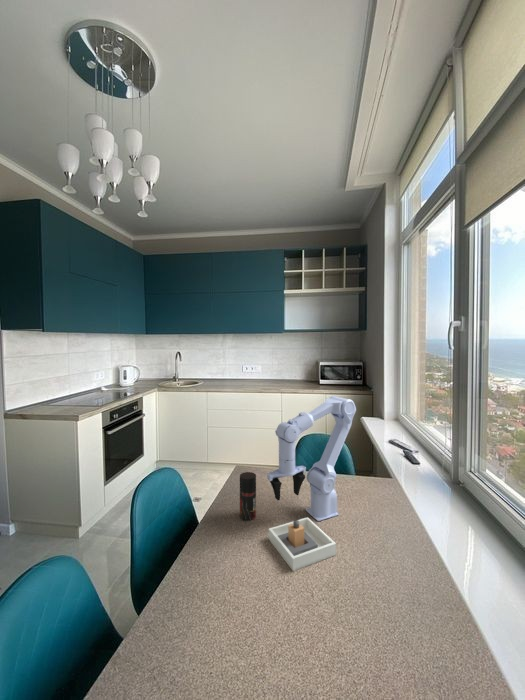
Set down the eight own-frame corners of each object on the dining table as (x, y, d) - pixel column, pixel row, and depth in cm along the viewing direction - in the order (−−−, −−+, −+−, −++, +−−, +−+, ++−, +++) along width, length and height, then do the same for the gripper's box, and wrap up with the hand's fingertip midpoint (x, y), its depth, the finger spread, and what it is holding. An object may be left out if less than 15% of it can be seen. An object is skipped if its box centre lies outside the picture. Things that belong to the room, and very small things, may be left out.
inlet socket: (301, 534, 99) (301, 528, 98) (317, 551, 90) (317, 544, 90) (277, 542, 95) (277, 535, 95) (292, 560, 87) (292, 553, 86)
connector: (297, 540, 95) (297, 517, 95) (304, 547, 92) (304, 523, 92) (288, 544, 94) (288, 520, 93) (295, 551, 90) (295, 526, 90)
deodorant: (253, 521, 106) (253, 479, 106) (237, 519, 108) (237, 478, 107) (257, 512, 112) (257, 472, 112) (242, 510, 113) (242, 471, 113)
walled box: (307, 527, 103) (307, 517, 103) (336, 554, 90) (336, 543, 90) (268, 539, 97) (268, 528, 97) (292, 571, 83) (293, 558, 83)
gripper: (298, 450, 111) (298, 487, 111) (263, 457, 105) (263, 495, 105) (309, 457, 105) (309, 495, 105) (272, 464, 98) (272, 505, 99)
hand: (287, 496), depth 105 cm, fingers open, 7 cm apart
